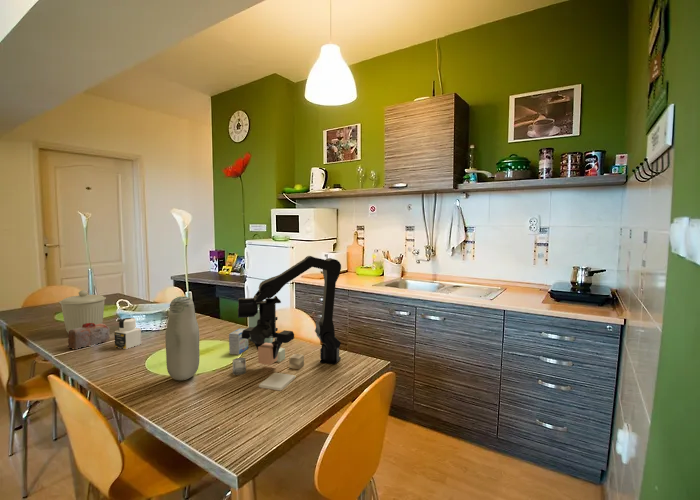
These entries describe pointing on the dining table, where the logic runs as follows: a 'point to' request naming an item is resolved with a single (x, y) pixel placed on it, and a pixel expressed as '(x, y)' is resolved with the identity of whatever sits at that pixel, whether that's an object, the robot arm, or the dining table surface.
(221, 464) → the dining table surface
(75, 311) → the canister
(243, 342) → the medicine box
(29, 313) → the dining table surface
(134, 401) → the dining table surface
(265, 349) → the coral block
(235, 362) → the grey metal cylinder
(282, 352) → the sage block
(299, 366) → the birch block
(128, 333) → the medicine bottle
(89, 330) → the food item
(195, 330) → the grey squeeze bottle
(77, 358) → the dining table surface
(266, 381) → the grey mat
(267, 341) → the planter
